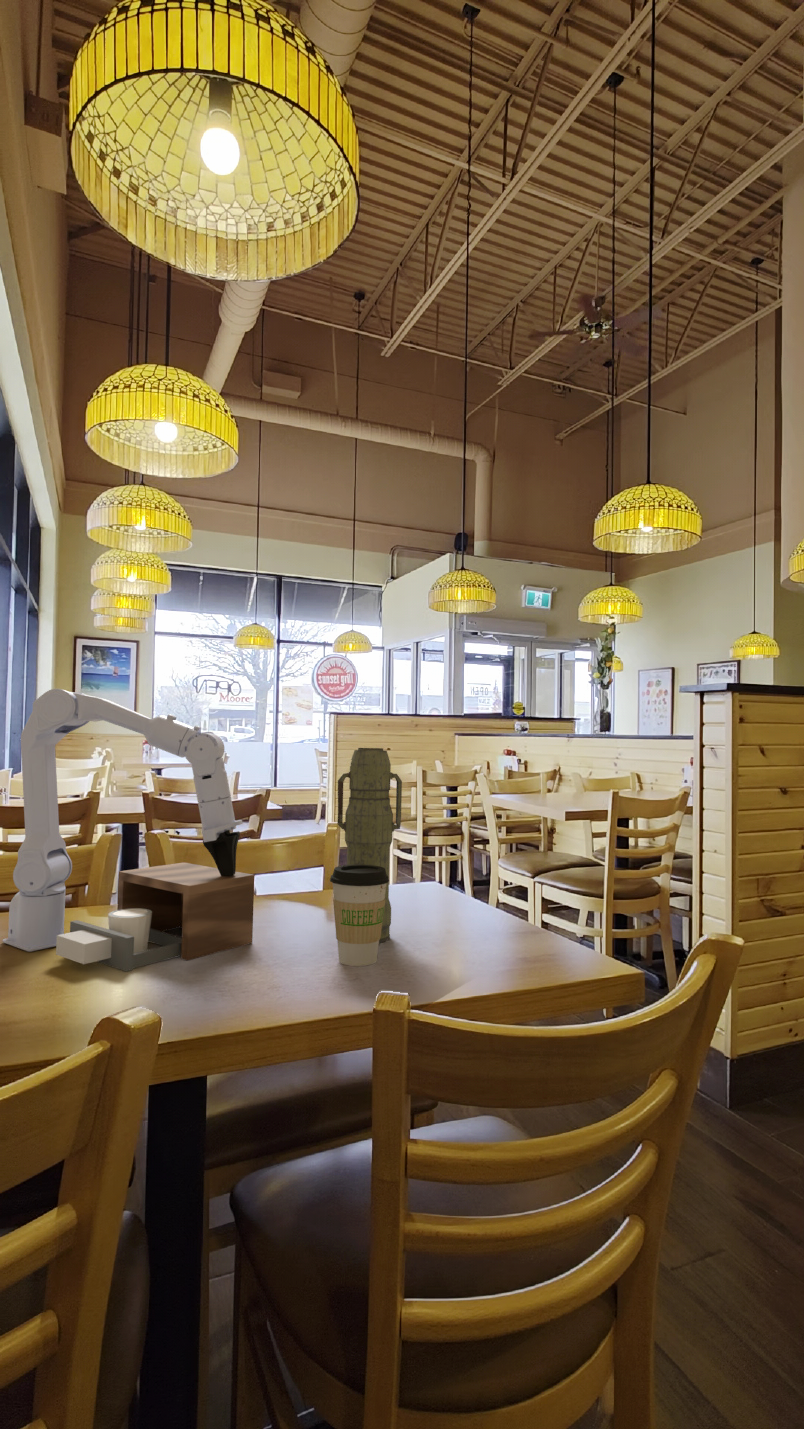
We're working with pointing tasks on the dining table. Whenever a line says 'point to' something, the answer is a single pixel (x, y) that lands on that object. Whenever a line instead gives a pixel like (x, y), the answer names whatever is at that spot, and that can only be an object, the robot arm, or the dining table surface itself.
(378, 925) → the coffee cup
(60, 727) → the robot arm
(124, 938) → the shelf tray
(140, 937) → the white cup
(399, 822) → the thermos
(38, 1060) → the dining table surface
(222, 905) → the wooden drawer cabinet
